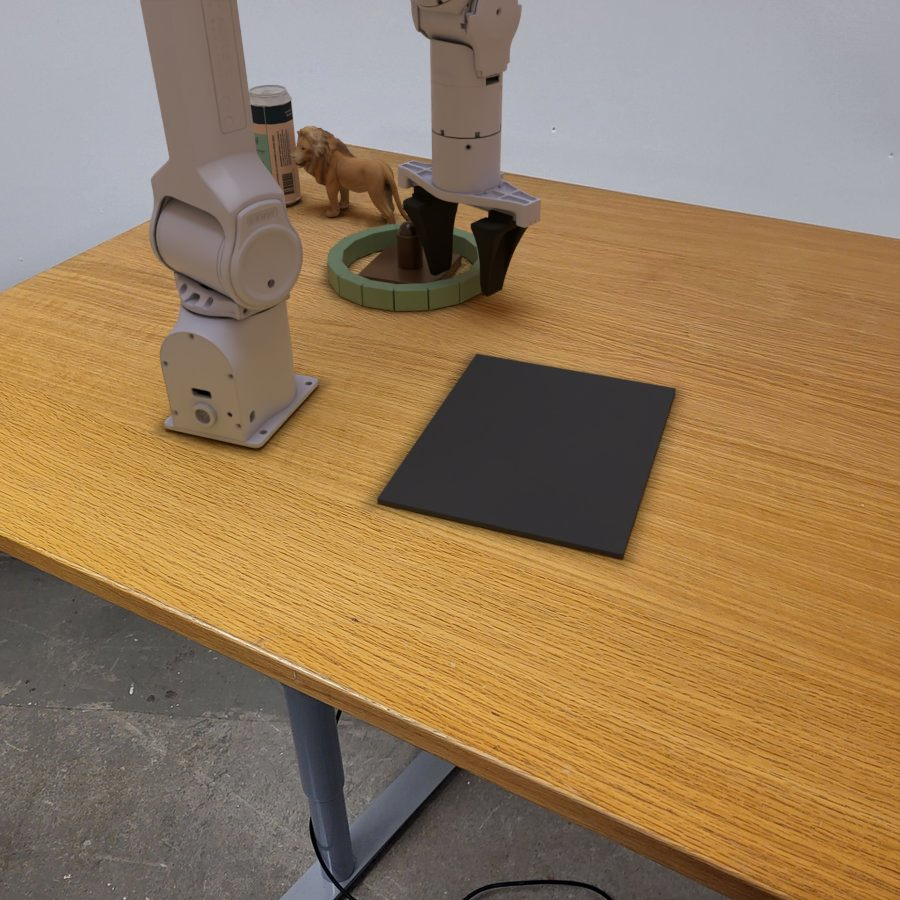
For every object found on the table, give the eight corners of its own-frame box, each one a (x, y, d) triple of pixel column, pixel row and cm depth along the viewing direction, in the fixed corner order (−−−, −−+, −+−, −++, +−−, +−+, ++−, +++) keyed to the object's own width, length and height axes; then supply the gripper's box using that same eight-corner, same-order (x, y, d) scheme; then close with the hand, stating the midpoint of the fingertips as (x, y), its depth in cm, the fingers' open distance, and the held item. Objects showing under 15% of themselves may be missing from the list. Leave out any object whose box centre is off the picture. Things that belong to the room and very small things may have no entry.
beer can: (306, 193, 106) (295, 84, 99) (296, 209, 102) (284, 96, 95) (265, 192, 107) (251, 83, 100) (253, 208, 103) (238, 95, 96)
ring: (460, 322, 81) (459, 301, 79) (300, 296, 85) (298, 275, 84) (512, 253, 92) (512, 234, 91) (369, 233, 97) (368, 215, 96)
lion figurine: (289, 214, 101) (279, 130, 96) (317, 199, 105) (309, 117, 100) (407, 238, 95) (403, 150, 90) (431, 221, 99) (430, 135, 94)
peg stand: (433, 296, 85) (432, 242, 82) (357, 284, 87) (353, 231, 84) (461, 263, 90) (461, 212, 87) (389, 253, 93) (387, 202, 90)
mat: (622, 559, 56) (623, 554, 56) (377, 503, 60) (376, 498, 60) (675, 392, 71) (676, 388, 71) (476, 357, 76) (476, 353, 75)
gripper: (567, 135, 74) (557, 290, 82) (435, 101, 82) (437, 246, 90) (511, 156, 70) (506, 318, 78) (377, 119, 78) (385, 269, 86)
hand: (465, 281), depth 84 cm, fingers open, 6 cm apart
